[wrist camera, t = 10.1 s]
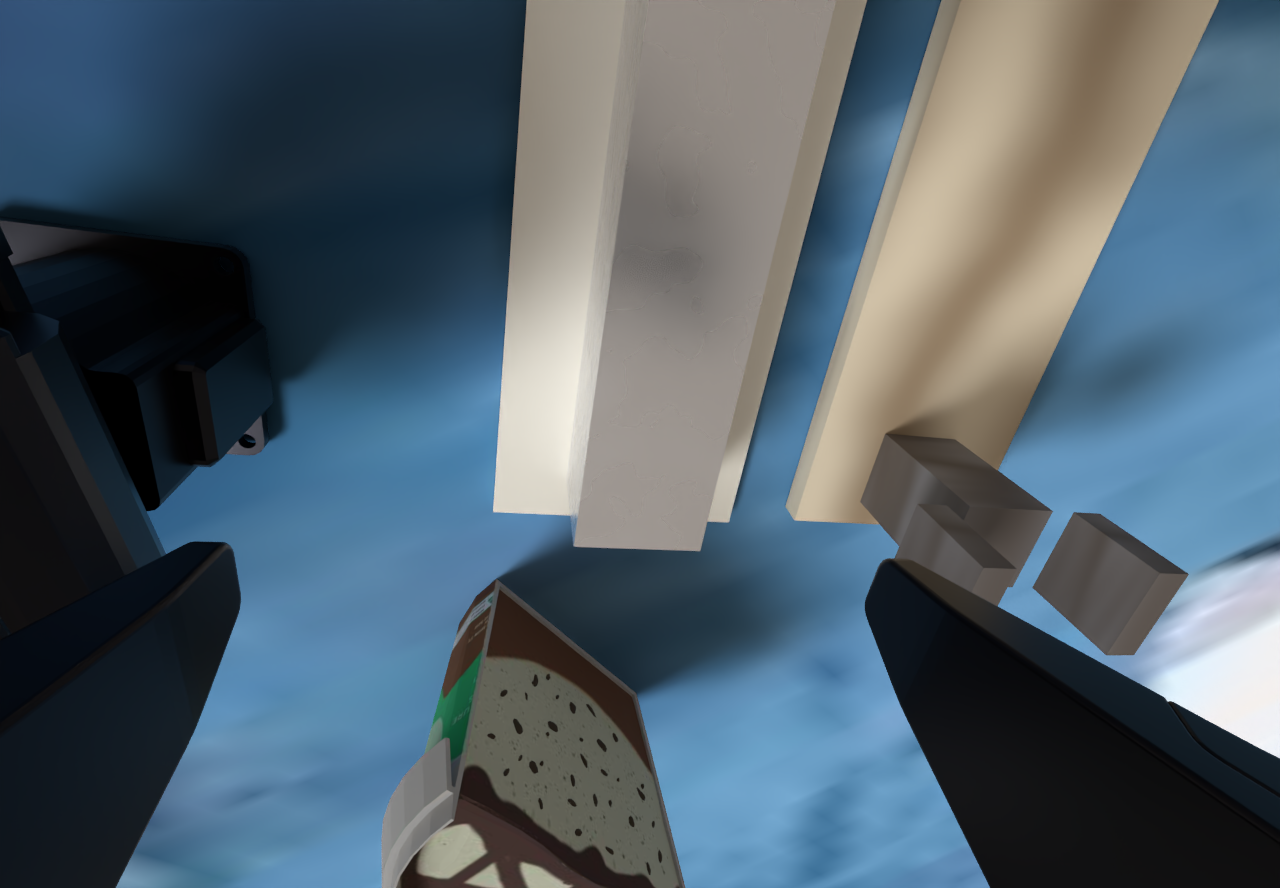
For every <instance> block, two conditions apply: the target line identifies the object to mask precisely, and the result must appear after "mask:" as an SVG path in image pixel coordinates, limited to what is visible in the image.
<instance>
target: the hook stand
mask: <svg viewBox="0 0 1280 888" xmlns="http://www.w3.org/2000/svg"><path fill="white" fill-rule="evenodd" d="M1218 2H1219V0H941V3H940V6H939V10H938V13H937V16H936V19H935V23H934V26H933V29H932V32H931V36H930V39H929V42H928V45H927V49H926V52H925V55H924V58H923V62H922V65H921V68H920V71H919V75H918V78H917V81H916V84H915V88H914V91H913V94H912V97H911V101H910V104H909V107H908V110H907V114H906V117H905V120H904V123H903V126H902V130H901V133H900V136H899V139H898V143H897V146H896V149H895V152H894V156H893V159H892V162H891V165H890V169H889V172H888V175H887V178H886V182H885V185H884V188H883V191H882V195H881V198H880V201H879V204H878V208H877V211H876V214H875V217H874V221H873V224H872V227H871V230H870V234H869V237H868V240H867V243H866V246H865V250H864V253H863V256H862V259H861V263H860V266H859V269H858V272H857V276H856V279H855V282H854V285H853V289H852V292H851V295H850V298H849V302H848V305H847V308H846V311H845V315H844V318H843V321H842V324H841V328H840V331H839V334H838V337H837V341H836V344H835V347H834V350H833V354H832V357H831V360H830V363H829V367H828V370H827V373H826V376H825V379H824V383H823V386H822V389H821V392H820V396H819V399H818V402H817V405H816V409H815V412H814V415H813V418H812V422H811V425H810V428H809V431H808V435H807V438H806V441H805V444H804V448H803V451H802V454H801V457H800V461H799V464H798V467H797V470H796V474H795V477H794V480H793V483H792V487H791V490H790V493H789V496H788V499H787V503H786V506H785V507H786V508H787V510H788V511H789V513H790V514H791V516H792V517H793V519H794V520H798V521H819V522H840V523H862V524H880V525H881V526H882V527H883V528H884V530H885V531H886V532H887V533H888V534H889V535H890V536H891V538H892V539H893V540H894V541H895V542H896V543H897V544H898V545H899V549H898V551H897V554H896V556H895V559H910V560H913V561H915V562H917V563H919V564H921V565H922V566H924V567H926V568H928V569H930V570H932V571H933V572H935V573H937V574H939V575H941V576H943V577H944V578H946V579H948V580H950V581H952V582H954V583H955V584H957V585H959V586H961V587H963V588H965V589H966V590H968V591H970V592H972V593H974V594H976V595H977V596H979V597H981V598H983V599H985V600H987V601H988V602H990V603H992V604H994V605H996V606H998V604H999V602H1000V600H1001V598H1002V596H1003V595H1004V593H1005V591H1006V589H1007V587H1013V585H1014V583H1015V581H1016V579H1017V577H1018V576H1019V574H1020V572H1021V570H1022V568H1023V566H1024V564H1025V562H1026V561H1027V559H1028V557H1029V555H1030V553H1031V551H1032V549H1033V547H1034V546H1035V544H1036V542H1037V540H1038V538H1039V536H1040V534H1041V532H1042V531H1043V529H1044V527H1045V525H1046V523H1047V521H1048V519H1049V517H1050V515H1051V514H1052V512H1053V511H1052V510H1050V509H1049V508H1048V507H1046V506H1045V505H1044V504H1042V503H1041V502H1040V501H1038V500H1037V499H1035V498H1034V497H1033V496H1031V495H1030V494H1029V493H1027V492H1026V491H1025V490H1023V489H1022V488H1021V487H1019V486H1018V485H1016V484H1015V483H1014V482H1012V481H1011V480H1010V479H1008V478H1007V477H1006V476H1004V475H1003V474H1002V473H1000V472H999V471H998V469H999V467H1000V465H1001V463H1002V460H1003V458H1004V456H1005V454H1006V452H1007V450H1008V448H1009V446H1010V443H1011V441H1012V439H1013V437H1014V435H1015V433H1016V431H1017V429H1018V426H1019V424H1020V422H1021V420H1022V418H1023V416H1024V414H1025V412H1026V409H1027V407H1028V405H1029V403H1030V401H1031V399H1032V397H1033V395H1034V392H1035V390H1036V388H1037V386H1038V384H1039V382H1040V380H1041V378H1042V375H1043V373H1044V371H1045V369H1046V367H1047V365H1048V363H1049V361H1050V358H1051V356H1052V354H1053V352H1054V350H1055V348H1056V346H1057V344H1058V341H1059V339H1060V337H1061V335H1062V333H1063V331H1064V329H1065V327H1066V324H1067V322H1068V320H1069V318H1070V316H1071V314H1072V312H1073V310H1074V307H1075V305H1076V303H1077V301H1078V299H1079V297H1080V295H1081V293H1082V290H1083V288H1084V286H1085V284H1086V282H1087V280H1088V278H1089V276H1090V273H1091V271H1092V269H1093V267H1094V265H1095V263H1096V261H1097V259H1098V256H1099V254H1100V252H1101V250H1102V248H1103V246H1104V244H1105V242H1106V239H1107V237H1108V235H1109V233H1110V231H1111V229H1112V227H1113V225H1114V222H1115V220H1116V218H1117V216H1118V214H1119V212H1120V210H1121V208H1122V205H1123V203H1124V201H1125V199H1126V197H1127V195H1128V193H1129V191H1130V188H1131V186H1132V184H1133V182H1134V180H1135V178H1136V176H1137V174H1138V171H1139V169H1140V167H1141V165H1142V163H1143V161H1144V159H1145V157H1146V154H1147V152H1148V150H1149V148H1150V146H1151V144H1152V142H1153V140H1154V137H1155V135H1156V133H1157V131H1158V129H1159V127H1160V125H1161V123H1162V120H1163V118H1164V116H1165V114H1166V112H1167V110H1168V108H1169V106H1170V103H1171V101H1172V99H1173V97H1174V95H1175V93H1176V91H1177V89H1178V86H1179V84H1180V82H1181V80H1182V78H1183V76H1184V74H1185V72H1186V70H1187V67H1188V65H1189V63H1190V61H1191V59H1192V57H1193V55H1194V53H1195V50H1196V48H1197V46H1198V44H1199V42H1200V40H1201V38H1202V36H1203V33H1204V31H1205V29H1206V27H1207V25H1208V23H1209V21H1210V19H1211V16H1212V14H1213V12H1214V10H1215V8H1216V6H1217V4H1218ZM1188 575H1189V574H1188V573H1186V572H1185V571H1183V570H1182V569H1180V568H1179V567H1177V566H1176V565H1174V564H1173V563H1171V562H1170V561H1168V560H1167V559H1166V558H1164V557H1163V556H1161V555H1160V554H1158V553H1157V552H1155V551H1154V550H1152V549H1151V548H1149V547H1148V546H1146V545H1145V544H1143V543H1142V542H1141V541H1139V540H1138V539H1136V538H1135V537H1133V536H1132V535H1130V534H1129V533H1127V532H1126V531H1124V530H1123V529H1121V528H1120V527H1118V526H1117V525H1116V524H1114V523H1113V522H1111V521H1110V520H1108V519H1107V518H1105V517H1104V516H1102V515H1101V514H1094V513H1076V512H1074V513H1073V515H1072V517H1071V519H1070V520H1069V522H1068V524H1067V526H1066V528H1065V530H1064V531H1063V533H1062V535H1061V537H1060V539H1059V540H1058V542H1057V544H1056V546H1055V548H1054V549H1053V551H1052V553H1051V555H1050V557H1049V559H1048V560H1047V562H1046V564H1045V566H1044V568H1043V569H1042V571H1041V573H1040V575H1039V577H1038V579H1037V580H1036V582H1035V584H1034V586H1033V589H1035V590H1036V591H1037V592H1038V593H1039V594H1040V595H1041V596H1042V597H1043V598H1044V599H1045V600H1047V601H1048V602H1049V603H1050V604H1051V605H1052V606H1053V607H1054V608H1055V609H1056V610H1057V611H1059V612H1060V613H1061V614H1062V615H1063V616H1064V617H1065V618H1066V619H1067V620H1068V621H1069V622H1071V623H1072V624H1073V625H1074V626H1075V627H1076V628H1077V629H1078V630H1079V631H1080V632H1081V633H1083V634H1084V635H1085V636H1086V637H1087V638H1088V639H1089V640H1090V641H1091V642H1092V643H1093V644H1095V645H1096V646H1097V647H1098V648H1099V649H1100V650H1101V651H1102V652H1103V653H1104V654H1105V655H1134V654H1135V652H1136V651H1137V649H1138V648H1139V647H1140V645H1141V644H1142V642H1143V641H1144V639H1145V638H1146V636H1147V635H1148V633H1149V632H1150V630H1151V629H1152V627H1153V626H1154V625H1155V623H1156V622H1157V620H1158V619H1159V617H1160V616H1161V614H1162V613H1163V611H1164V610H1165V608H1166V607H1167V606H1168V604H1169V603H1170V601H1171V600H1172V598H1173V597H1174V595H1175V594H1176V592H1177V591H1178V589H1179V588H1180V586H1181V585H1182V584H1183V582H1184V581H1185V579H1186V578H1187V576H1188Z"/></svg>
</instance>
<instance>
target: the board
mask: <svg viewBox="0 0 1280 888" xmlns="http://www.w3.org/2000/svg"><path fill="white" fill-rule="evenodd" d="M625 1H626V0H527V5H526V21H525V36H524V51H523V66H522V81H521V97H520V112H519V127H518V142H517V157H516V173H515V188H514V203H513V218H512V233H511V249H510V264H509V279H508V294H507V309H506V325H505V340H504V355H503V370H502V385H501V401H500V416H499V431H498V446H497V461H496V477H495V492H494V507H493V512H504V513H526V514H549V515H570V509H569V500H568V491H567V481H566V478H567V470H568V462H569V454H570V446H571V438H572V430H573V422H574V414H575V406H576V397H577V389H578V381H579V373H580V365H581V357H582V349H583V341H584V333H585V325H586V317H587V309H588V300H589V292H590V284H591V276H592V268H593V260H594V252H595V244H596V236H597V228H598V220H599V212H600V203H601V195H602V187H603V179H604V171H605V163H606V155H607V147H608V139H609V131H610V123H611V115H612V106H613V98H614V90H615V82H616V74H617V66H618V58H619V50H620V42H621V34H622V26H623V18H624V10H625ZM866 2H867V0H836V3H835V7H834V11H833V15H832V19H831V23H830V27H829V31H828V35H827V39H826V43H825V47H824V51H823V55H822V59H821V63H820V67H819V71H818V75H817V80H816V84H815V88H814V92H813V96H812V100H811V104H810V108H809V112H808V116H807V120H806V124H805V128H804V132H803V136H802V140H801V144H800V148H799V152H798V156H797V161H796V165H795V169H794V173H793V177H792V181H791V185H790V189H789V193H788V197H787V201H786V205H785V209H784V213H783V217H782V221H781V225H780V229H779V233H778V238H777V242H776V246H775V250H774V254H773V258H772V262H771V266H770V270H769V274H768V278H767V282H766V286H765V290H764V294H763V298H762V302H761V306H760V310H759V315H758V319H757V323H756V327H755V331H754V335H753V339H752V343H751V347H750V351H749V355H748V359H747V363H746V367H745V371H744V375H743V379H742V383H741V387H740V391H739V396H738V400H737V404H736V408H735V412H734V416H733V420H732V424H731V428H730V432H729V436H728V440H727V444H726V448H725V452H724V456H723V460H722V464H721V468H720V473H719V477H718V481H717V485H716V489H715V493H714V497H713V501H712V505H711V509H710V513H709V517H708V521H707V522H728V523H729V520H730V516H731V512H732V508H733V504H734V501H735V497H736V493H737V489H738V486H739V482H740V478H741V474H742V470H743V467H744V463H745V459H746V455H747V452H748V448H749V444H750V440H751V436H752V433H753V429H754V425H755V421H756V418H757V414H758V410H759V406H760V402H761V399H762V395H763V391H764V387H765V384H766V380H767V376H768V372H769V368H770V365H771V361H772V357H773V353H774V350H775V346H776V342H777V338H778V334H779V331H780V327H781V323H782V319H783V316H784V312H785V308H786V304H787V300H788V297H789V293H790V289H791V285H792V282H793V278H794V274H795V270H796V266H797V263H798V259H799V255H800V251H801V248H802V244H803V240H804V236H805V232H806V229H807V225H808V221H809V217H810V214H811V210H812V206H813V202H814V199H815V195H816V191H817V187H818V183H819V180H820V176H821V172H822V168H823V165H824V161H825V157H826V153H827V149H828V146H829V142H830V138H831V134H832V131H833V127H834V123H835V119H836V115H837V112H838V108H839V104H840V100H841V97H842V93H843V89H844V85H845V81H846V78H847V74H848V70H849V66H850V63H851V59H852V55H853V51H854V47H855V44H856V40H857V36H858V32H859V29H860V25H861V21H862V17H863V13H864V10H865V6H866Z"/></svg>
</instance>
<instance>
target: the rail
mask: <svg viewBox="0 0 1280 888" xmlns="http://www.w3.org/2000/svg"><path fill="white" fill-rule="evenodd" d="M835 3H836V0H626V1H625V10H624V18H623V26H622V34H621V42H620V50H619V58H618V66H617V74H616V82H615V90H614V98H613V106H612V115H611V123H610V131H609V139H608V147H607V155H606V163H605V171H604V179H603V187H602V195H601V203H600V212H599V220H598V228H597V236H596V244H595V252H594V260H593V268H592V276H591V284H590V292H589V300H588V309H587V317H586V325H585V333H584V341H583V349H582V357H581V365H580V373H579V381H578V389H577V397H576V406H575V414H574V422H573V430H572V438H571V446H570V454H569V462H568V470H567V478H566V481H567V491H568V500H569V509H570V518H571V527H572V536H573V545H574V547H594V548H623V549H653V550H682V551H700V550H701V545H702V541H703V537H704V533H705V529H706V525H707V521H708V517H709V513H710V509H711V505H712V501H713V497H714V493H715V489H716V485H717V481H718V477H719V473H720V468H721V464H722V460H723V456H724V452H725V448H726V444H727V440H728V436H729V432H730V428H731V424H732V420H733V416H734V412H735V408H736V404H737V400H738V396H739V391H740V387H741V383H742V379H743V375H744V371H745V367H746V363H747V359H748V355H749V351H750V347H751V343H752V339H753V335H754V331H755V327H756V323H757V319H758V315H759V310H760V306H761V302H762V298H763V294H764V290H765V286H766V282H767V278H768V274H769V270H770V266H771V262H772V258H773V254H774V250H775V246H776V242H777V238H778V233H779V229H780V225H781V221H782V217H783V213H784V209H785V205H786V201H787V197H788V193H789V189H790V185H791V181H792V177H793V173H794V169H795V165H796V161H797V156H798V152H799V148H800V144H801V140H802V136H803V132H804V128H805V124H806V120H807V116H808V112H809V108H810V104H811V100H812V96H813V92H814V88H815V84H816V80H817V75H818V71H819V67H820V63H821V59H822V55H823V51H824V47H825V43H826V39H827V35H828V31H829V27H830V23H831V19H832V15H833V11H834V7H835Z"/></svg>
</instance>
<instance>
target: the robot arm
mask: <svg viewBox="0 0 1280 888" xmlns="http://www.w3.org/2000/svg"><path fill="white" fill-rule="evenodd" d="M220 257H225V258H228V259H229V260H230V261H231V262H232V263H233V265H234V271H233V272H228V271H226V270H225V269H224V268H222V266H221V264H220ZM272 403H273V391H272V382H271V373H270V364H269V354H268V345H267V336H266V328H265V326H264V325H263V324H262V323H261V322H260V321H259V320H258V319H255V310H254V301H253V293H252V284H251V275H250V266H249V263H248V260H247V258H246V256H245V255H244V254H243V253H242V252H241V251H240V250H238V249H237V248H235V247H232V246H229V245H222V244H214V243H206V242H198V241H190V240H182V239H174V238H166V237H157V236H149V235H141V234H133V233H125V232H117V231H109V230H101V229H93V228H85V227H77V226H69V225H61V224H53V223H45V222H36V221H28V220H20V219H12V218H4V217H0V888H116V886H117V884H118V882H119V880H120V878H121V876H122V874H123V872H124V870H125V868H126V866H127V864H128V862H129V860H130V858H131V856H132V854H133V852H134V850H135V848H136V846H137V844H138V842H139V840H140V839H141V837H142V835H143V833H144V831H145V829H146V827H147V825H148V823H149V821H150V819H151V817H152V815H153V813H154V811H155V809H156V807H157V805H158V803H159V801H160V799H161V797H162V795H163V793H164V791H165V789H166V787H167V785H168V783H169V781H170V779H171V777H172V775H173V773H174V771H175V769H176V767H177V765H178V763H179V761H180V760H181V758H182V756H183V754H184V752H185V750H186V748H187V745H188V743H189V741H190V739H191V737H192V735H193V733H194V731H195V728H196V726H197V723H198V721H199V718H200V716H201V713H202V711H203V708H204V706H205V703H206V700H207V698H208V695H209V692H210V690H211V687H212V684H213V681H214V679H215V676H216V673H217V671H218V668H219V665H220V663H221V660H222V657H223V654H224V652H225V649H226V646H227V644H228V641H229V638H230V635H231V633H232V630H233V627H234V625H235V622H236V619H237V617H238V614H239V610H240V604H241V593H240V587H239V581H238V575H237V569H236V563H235V557H234V552H233V550H232V548H231V546H230V545H228V544H227V543H225V542H190V543H187V544H185V545H183V546H181V547H179V548H177V549H175V550H173V551H171V552H170V553H168V554H166V553H165V551H164V549H163V546H162V544H161V542H160V540H159V538H158V536H157V533H156V531H155V529H154V527H153V525H152V522H151V520H150V518H149V516H148V514H147V512H146V511H151V510H155V509H157V508H158V507H159V506H160V505H161V504H162V503H163V502H164V501H165V500H166V499H167V498H168V497H169V496H170V495H171V494H172V493H173V492H174V491H175V490H176V488H177V487H178V486H179V485H180V484H181V483H182V482H183V481H184V480H185V479H186V478H187V477H188V476H189V475H190V474H191V473H192V472H193V471H194V470H195V469H196V468H197V467H198V466H200V467H211V466H213V465H215V464H216V463H217V462H218V461H219V460H221V459H222V457H223V456H224V455H225V454H237V455H255V454H257V453H259V452H261V451H262V449H263V448H264V447H265V446H266V444H267V443H268V440H269V433H268V424H267V415H266V409H267V408H268V407H269V406H270V405H271V404H272ZM244 434H248V435H251V436H252V437H253V438H255V441H256V443H251V442H248V441H247V440H245V439H244V436H243V435H244ZM865 613H866V617H867V620H868V622H869V625H870V628H871V630H872V633H873V635H874V638H875V641H876V643H877V646H878V649H879V651H880V654H881V656H882V659H883V662H884V664H885V667H886V670H887V672H888V675H889V677H890V680H891V683H892V685H893V688H894V691H895V693H896V695H897V698H898V700H899V703H900V705H901V707H902V710H903V712H904V714H905V716H906V718H907V720H908V722H909V724H910V726H911V729H912V731H913V733H914V735H915V737H916V739H917V741H918V743H919V745H920V747H921V749H922V751H923V753H924V755H925V757H926V759H927V761H928V763H929V765H930V767H931V769H932V771H933V773H934V775H935V777H936V779H937V781H938V783H939V785H940V787H941V789H942V791H943V793H944V795H945V797H946V799H947V801H948V803H949V805H950V807H951V809H952V811H953V813H954V816H955V818H956V820H957V822H958V824H959V826H960V828H961V830H962V832H963V834H964V836H965V838H966V840H967V842H968V844H969V846H970V848H971V850H972V852H973V854H974V856H975V858H976V860H977V862H978V864H979V866H980V868H981V870H982V872H983V874H984V876H985V878H986V880H987V882H988V884H989V886H990V888H1280V758H1278V757H1276V756H1274V755H1272V754H1270V753H1268V752H1266V751H1264V750H1262V749H1260V748H1258V747H1256V746H1254V745H1252V744H1250V743H1248V742H1247V741H1245V740H1243V739H1241V738H1239V737H1237V736H1235V735H1233V734H1232V733H1230V732H1228V731H1226V730H1224V729H1222V728H1220V727H1218V726H1217V725H1215V724H1213V723H1211V722H1209V721H1207V720H1205V719H1203V718H1202V717H1200V716H1198V715H1196V714H1194V713H1192V712H1191V711H1189V710H1187V709H1185V708H1183V707H1181V706H1180V705H1178V704H1176V703H1174V702H1171V701H1169V702H1167V700H1166V699H1165V698H1164V697H1163V696H1161V695H1159V694H1157V693H1155V692H1154V691H1152V690H1150V689H1148V688H1146V687H1144V686H1143V685H1141V684H1139V683H1137V682H1135V681H1133V680H1132V679H1130V678H1128V677H1126V676H1124V675H1122V674H1121V673H1119V672H1117V671H1115V670H1113V669H1111V668H1110V667H1108V666H1106V665H1104V664H1102V663H1100V662H1099V661H1097V660H1095V659H1093V658H1091V657H1089V656H1088V655H1086V654H1084V653H1082V652H1080V651H1078V650H1077V649H1075V648H1073V647H1071V646H1069V645H1067V644H1065V643H1064V642H1062V641H1060V640H1058V639H1056V638H1054V637H1053V636H1051V635H1049V634H1047V633H1045V632H1043V631H1042V630H1040V629H1038V628H1036V627H1034V626H1032V625H1031V624H1029V623H1027V622H1025V621H1023V620H1021V619H1020V618H1018V617H1016V616H1014V615H1012V614H1010V613H1009V612H1007V611H1005V610H1003V609H1001V608H999V607H998V606H996V605H994V604H992V603H990V602H988V601H987V600H985V599H983V598H981V597H979V596H977V595H976V594H974V593H972V592H970V591H968V590H966V589H965V588H963V587H961V586H959V585H957V584H955V583H954V582H952V581H950V580H948V579H946V578H944V577H943V576H941V575H939V574H937V573H935V572H933V571H932V570H930V569H928V568H926V567H924V566H922V565H921V564H919V563H917V562H915V561H913V560H910V559H890V558H889V559H885V560H883V561H882V562H881V563H880V565H879V567H878V569H877V572H876V574H875V577H874V579H873V582H872V584H871V587H870V589H869V592H868V594H867V597H866V600H865Z"/></svg>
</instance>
